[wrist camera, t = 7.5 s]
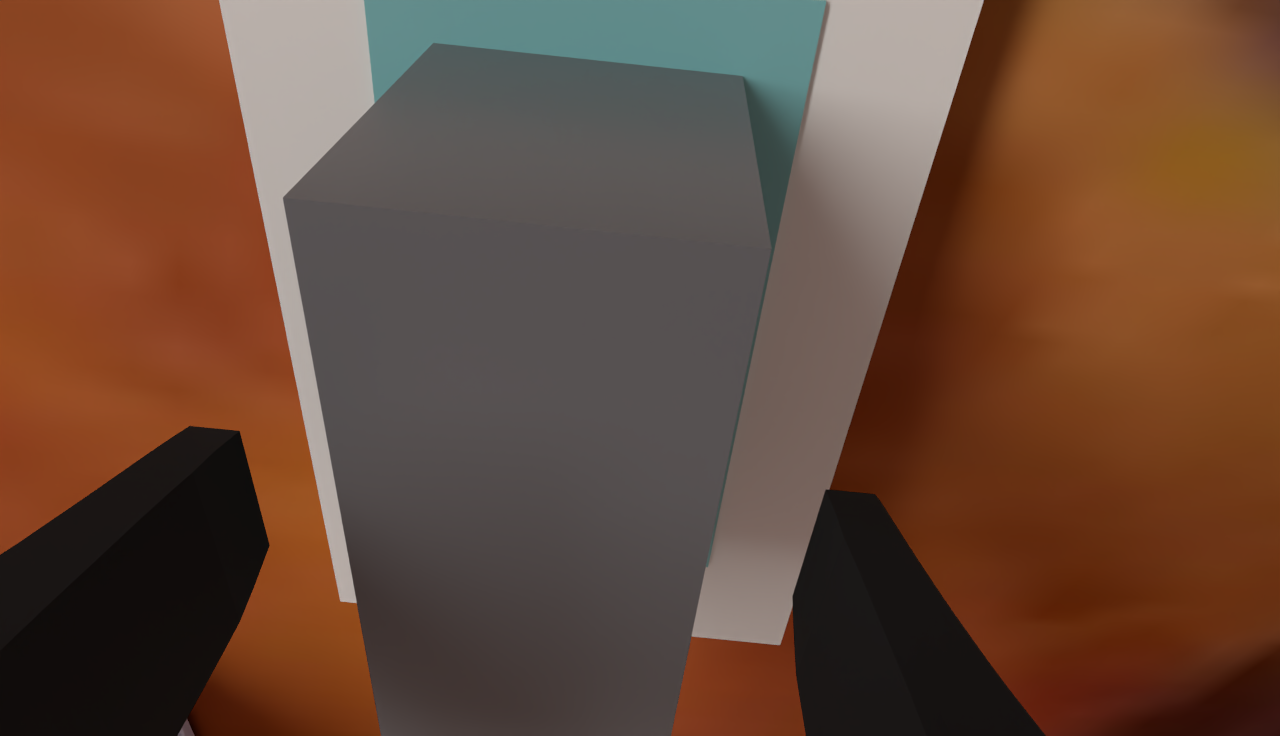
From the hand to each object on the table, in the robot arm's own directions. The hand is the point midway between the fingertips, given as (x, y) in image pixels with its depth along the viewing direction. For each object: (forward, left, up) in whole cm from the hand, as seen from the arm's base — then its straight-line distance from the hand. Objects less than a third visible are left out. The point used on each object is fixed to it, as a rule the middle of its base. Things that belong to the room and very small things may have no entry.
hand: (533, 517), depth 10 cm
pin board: (0, 0, -6) cm, 6 cm away
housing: (0, 0, -4) cm, 4 cm away
